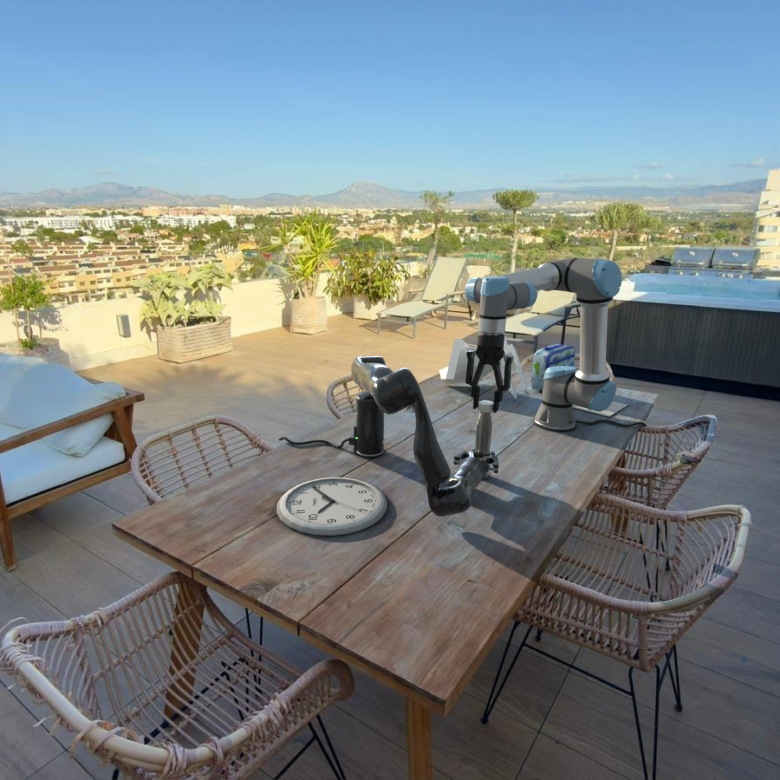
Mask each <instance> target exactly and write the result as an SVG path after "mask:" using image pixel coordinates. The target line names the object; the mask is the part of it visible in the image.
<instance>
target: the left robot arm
mask: <svg viewBox="0 0 780 780" xmlns="http://www.w3.org/2000/svg"><path fill="white" fill-rule="evenodd" d="M350 373H351V378H352V380H353V382H354V383H355V385H357V386H360V387H362V388H363V390H365V391H363V392H360V393H359V394H357V395H356V397H355V403H356V404H355V417H356V418H355V425H354V426H353V434H351V435H349V437H348V438H345V439H343V440H342V441H341V443H340V444H339V445H335V444H333V443H331V442H330V441H327V440H325V439H313V440H306V441H298V442H297V441H293V440H291V439H289V438H287V436H281V437H280V438H279V439H278V441H279V442H280V441H283V440H285V442H287V443H288V444H291V445H294V446H303V445H310V444H315V443H321V444H322V443H323V444H326V445H328V446H330V447H333V448H336V449H342V448H343V446H344V444H345V443H347V442H348V445H350V446H353V453H354V454H356V455H357V456H360V457H362V458H367V459H368V458H377V457H378V458H379V457H381V456H382V455H383V454H384V452H385V449H384V447H385V446H384V445H385V441H386V440H385V414H386V415H394V414H397V413H399V412H400V411H403V410H404V409H407V408H408V407H409V406H411V405H413V406H412V408H413V411H414V415H415V417H414V418H415V429H414V430H415V431H414V438H413V457H414V461H415V464H416V466H417V467H418V469H419V471H420V474H421V476H422V478H423V481H424V484H425V489H426V495H427V501H428V506H429V510H430V511H431V512H432V513H433V515H435V516H436V517H439V518H444V517H449V516H453V515H459V514H463V513H465V512H467V511H468V510H469V509H470V508H471V504H472V493H473V492H474V491H475V489H476V488H477V487H478V486H479V485H480V483H481V482H482V480H483V479H482V478H483V477H484V475H485V473H486V472H488V473H489V471H492V472H493V473H494V474H498V473H499V465H500V463H499V457H498V456H496V452H495V451H493V450H490V454H489V456H484V457H483V458H476V457H475V448H472V449H471V450H470V451H469V452H468V451H466V450H463V451H461V452H460V453H457V454H456V455H454V456H453V465H454V466H457V467H456V468H455V469H454V471H453V473H452V471H451V468H450V466H449V464H448V462H447V459H446V457H445V455H444V453H443V450H442V449H441V446H440V443H439V441H438V438H437V436H436V432H435V429H434V426H433V423H432V420H431V419H432V418H431V416H430V413H429V410H428V407H427V404H426V400H425V398H424V395H423V392H422V389H421V387H420V385H419V381H418V380H417V378H416V377H415V375H414V373H413V372H412V371H411V370H410V369H409V368H407V367H401V368H399V369H397V370H395V371H393V370H392V369H391V367H389V366H387V365H386V360H385V358H384V357H383V356H381V355H369V356H366V355H365V356H357V357H355V358H354V359H353V361H352V362H351V367H350ZM446 481H447V482H446ZM444 482H446V484H445V487H442V488H441V486H440V485H441V484H443V483H444Z"/></svg>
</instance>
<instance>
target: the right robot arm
mask: <svg viewBox="0 0 780 780" xmlns="http://www.w3.org/2000/svg"><path fill="white" fill-rule="evenodd" d="M622 275H623V274H622V271H621V268H620V266H619V265H618V263H617V262H615V261H614V260H610V259H605V258H584V257H583V258H582V257H566V258H562V259H556V260H552V261H548V262H544V263H542V264H540V265H539V266H538V267H534V268H530V269H529V268H528V269H525V270H524V269H523V270H519V271H514V272H510V273H506V274H501V275H500V274H499V275H496V276H485V277H483V278H481V277H471V278H470V279H469V280H468V281H467V282H466V284H465V286H464V296H465V298H466V299H467V300H468V301H469V302H472V303H475V304H479V315H478V326H477V331H478V333H477V342H476V346H477V348H476V350H474V351H472V350H470V351H468V352H467V353H466V354H467V359H468V361H467V371H466V381H465V383H464V384H466V385H469V386H470V397H471V398H473V399H472V401H473V402H472V409H473V410H477V409H478V404H479V401H480V394H481V393H480V392H481V388H480V387H481V386H480V385H479V383H480V382H479V379H480V376H481V374H482V371H483V368H484V366H485V365H486V364H488V365H491V366H492V369H493V371H492V372H493V375H494V380H495V385H496V390H495V391H494V396H493V403H494V406H493V411H492V413H493V414H496V413H497V412H499V408H500V403H501V402H502V401H503V400H504V392H506V391H509V388H510V383H511V378H512V364H513V362H514V360H513V359H514V357H513V356H509V355H507V354H505V352H504V338H505V337H506V334H505V332H506V325H507V313H508V311H511V310H520V309H521V310H523V309H527V308H530V307H532V306H533V305H534V304H536V302H537V300H538V291H544V292H551V291H559V292H565V293H573V294H575V301H576V302H577V304H578V305H580V323H579V324H580V325H579V326H580V327H579V328H580V329H579V330H580V331H579V332H580V333H579V369H578V368H577V367H576V366H574V367H572V366H554V367H550V368H547V369H546V371H545V374H544V378H543V379H544V382H543V391H541V392H542V394H541V402H540V405H539V407H538V410H537V411H536V413H535V417H534V424H535V425H536V426H537V427H539V428H542V429H544V430H549V431H556V432H567V431H572V430H574V429H575V428H576V424H582V425H588V426H589V425H596V424H597V423H608V424H613V425H615V426H618V427H619V426H620V427H625V428H630V427H634V426H637V425H638V426H639V425H642V426H643V427H644V428H645V427H648V425H647V424H646V423H645V422H643V421H636V422H633V423H628V424H627V423H621V422H617V421H615V420H609V419H597V420H594V421H584V420H578V419H576V418H575V417H576V416H575V413H574V407H573V405H574V406H580V407H583V408H587V409H589V410H594V411H598V412H601V411H604V410H605V409H607V408H608V407H609V406H610V404H611V403H612V401H614V400H615V398H616V397H615V396H616V394H617V384H616V383H615V382H614V381H612V380H610V378H611V374H610V372H609V371H608V370H607V369H606V362H607V337H608V315H609V314H608V313H609V305H610V304H611V303H612V302H613V300H614V297H616V296H617V295H618V294H619V292H620V290H621V287H622V283H623V276H622ZM503 333H504V334H505V335H504V334H503ZM476 355H477V356H478V358H479V363H478V367H477V370H476V372H475V375H474V378H473V368H474V357H475V356H476ZM502 358H504V362H505V367H504V370H503V376H502V370H501V365H500V360H501V359H502ZM472 378H473V380H472Z"/></svg>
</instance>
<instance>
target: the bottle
mask: <svg viewBox="0 0 780 780" xmlns="http://www.w3.org/2000/svg"><path fill="white" fill-rule="evenodd" d="M491 413H492V412H481V411H479V414H478V418H477V421H476V430H475V432H476V433H475V445H474V449H475V457H476V458H483V457H484V456H489V454H490V453H491V444H492V443H491V442H492V431H493V418H492V414H491ZM488 477H489V471H488V472H486V473H485V475H484V477H483V478H482V480H486V479H488Z"/></svg>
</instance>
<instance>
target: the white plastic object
mask: <svg viewBox="0 0 780 780" xmlns="http://www.w3.org/2000/svg"><path fill="white" fill-rule="evenodd" d="M503 334H504V335H505V338H504V352H505V354H507V355H509V356H513V357H514V359H513V363H514V366H515V369H516V372H517V376H518V380H519V382H520V385H521V389H522V391H523V393H524V395H525V396H526V397H528V396H531V395H530V390H529V388H528V387H529V386H528V384H527V381H526V378H525V375H524V371H523V369H522V368H523V367H522V366H521V362H520V359H519V355H518V352H517V349H516V347H515V346H514V345H513V343H511V344H508V341H507V337H506V334H505V332H504V333H503ZM476 348H477V345H473V346H469V345H468V343H466V342H465V340H464V339H463V338H460V339H458V338H454V340H453V344H452V349H451V353H450V357H449V362H448V366H446V367H444V368H442V369H440V370H439V371H438V372H439V376H440V381H442V383H443V384H444V385H445V386H449V385H458V384H466V383H465V381H466V371H467V361H468V359H467V354H466V353H467V352H468V351H470V350H472V351H474V350H476ZM478 363H479V358H478V356H477V355H476V356H475V357H474V368H473V378H474V375H475V372H476V370H477V367H478ZM500 366H502V370H503V371H504V367H505V362H504V358H502V359H501V360H500ZM492 372H494V371H493V369H492V366H491V365H488V364H486V365H485V366H484V368H483V371H482V374H481V376H480V379H479V382H478V383H480V382H482V381H484V378H485V377H486V376H487V375H489V374H490V373H492ZM473 378H472V380H473ZM508 391H509V393H510V394H511V395H512V397H513V398H514V399H515V400H517V392H516V391H517V390H516V388H515V385H514V381H513V378H512V377H511V383H510V388H509V389H508Z"/></svg>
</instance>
